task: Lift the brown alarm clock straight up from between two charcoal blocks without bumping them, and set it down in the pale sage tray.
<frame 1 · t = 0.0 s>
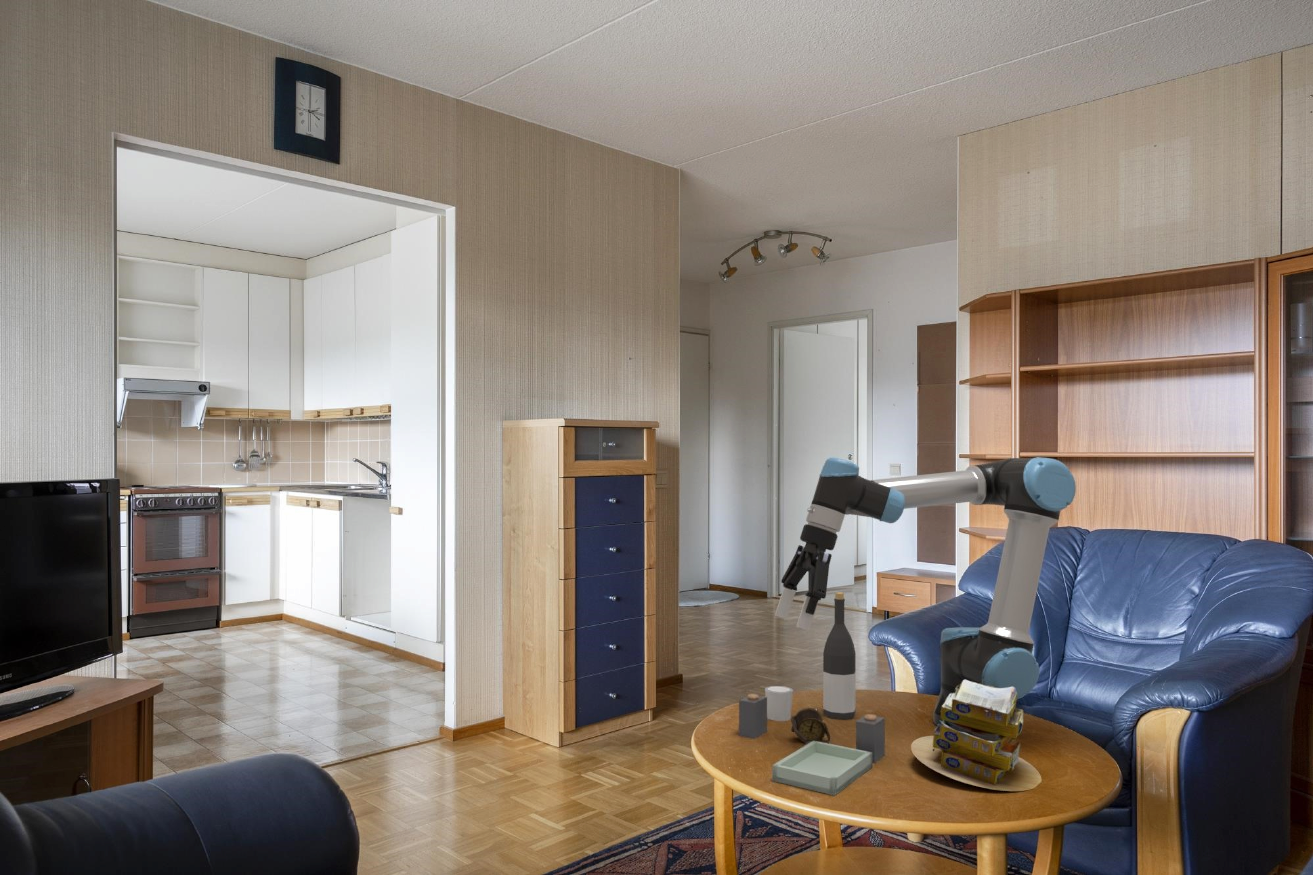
hand: (791, 623, 187), 28 cm above the table, fingers open, 13 cm apart
wine bottle: (839, 715, 217), on the table
brown alarm clock: (809, 746, 193), on the table
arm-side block: (870, 757, 185), on the table
sage tray: (823, 773, 175), on the table
far-side block: (753, 733, 201), on the table
light grey cylinder: (778, 718, 214), on the table
plate of stacked boxes: (974, 771, 178), on the table
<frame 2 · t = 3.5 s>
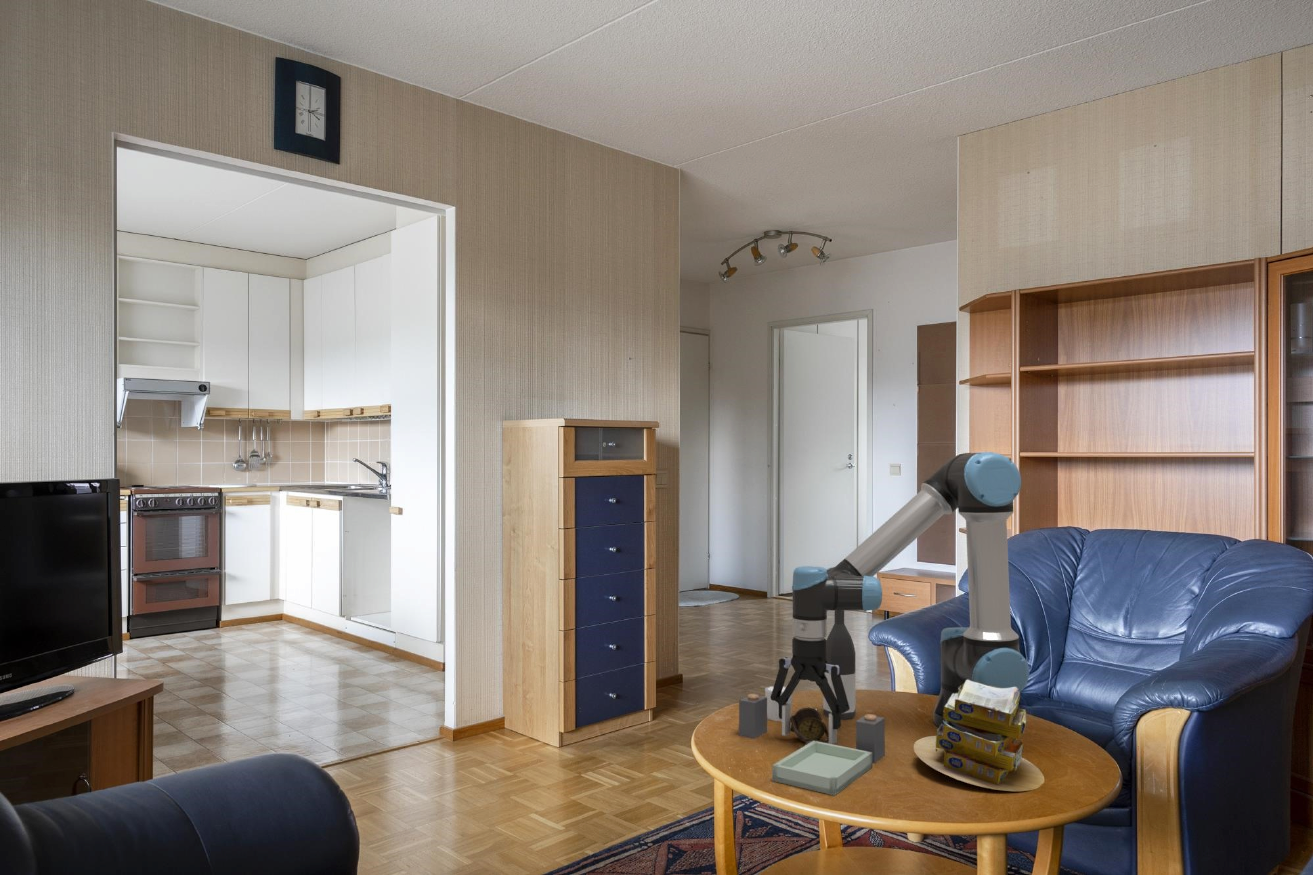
hand: (809, 738, 193), 1 cm above the table, fingers closed on brown alarm clock, 10 cm apart
brown alarm clock: (809, 745, 193), on the table, touching gripper
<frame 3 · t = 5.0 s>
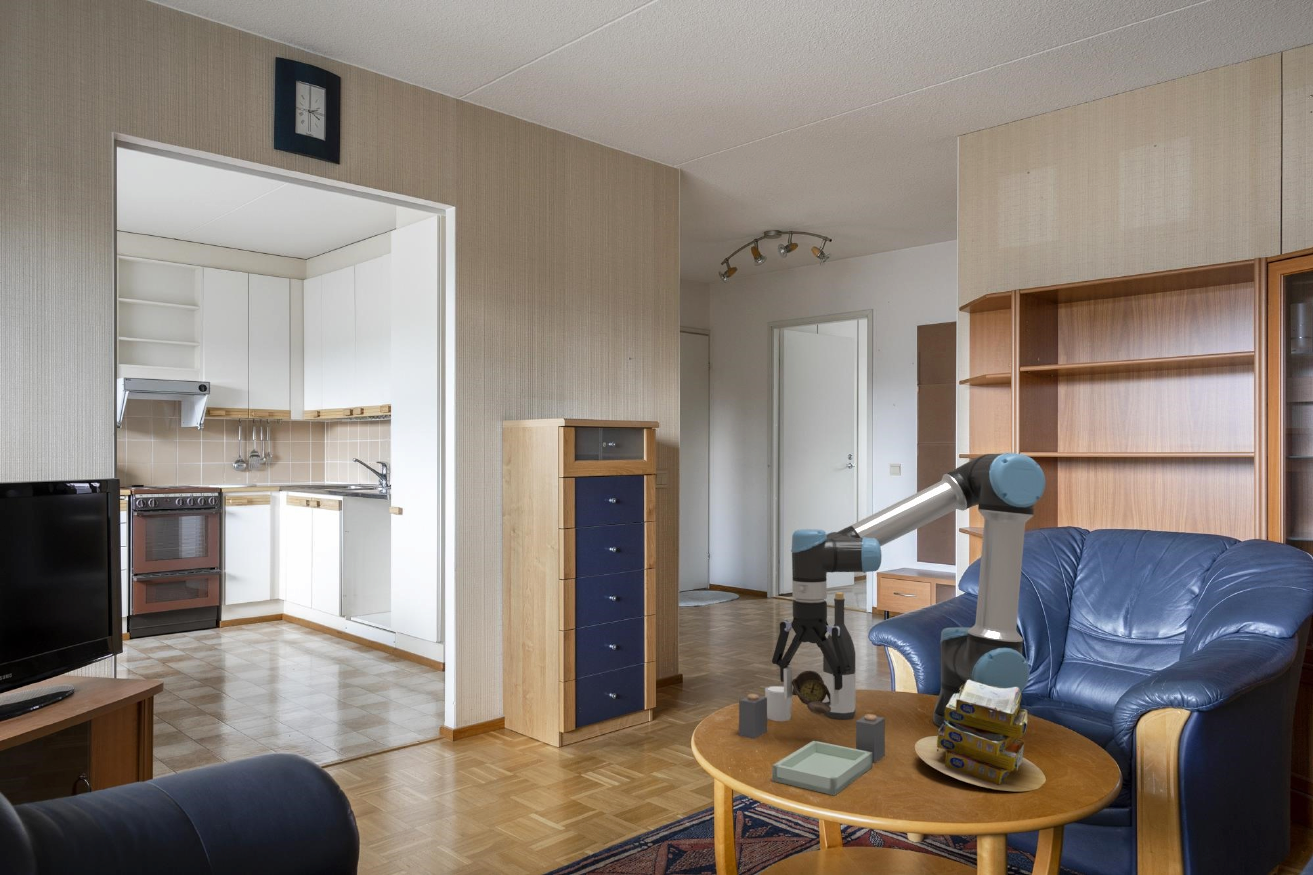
hand: (811, 700, 193), 10 cm above the table, fingers closed on brown alarm clock, 10 cm apart
brown alarm clock: (811, 708, 193), point 8 cm above the table, touching gripper
everything else where it was.
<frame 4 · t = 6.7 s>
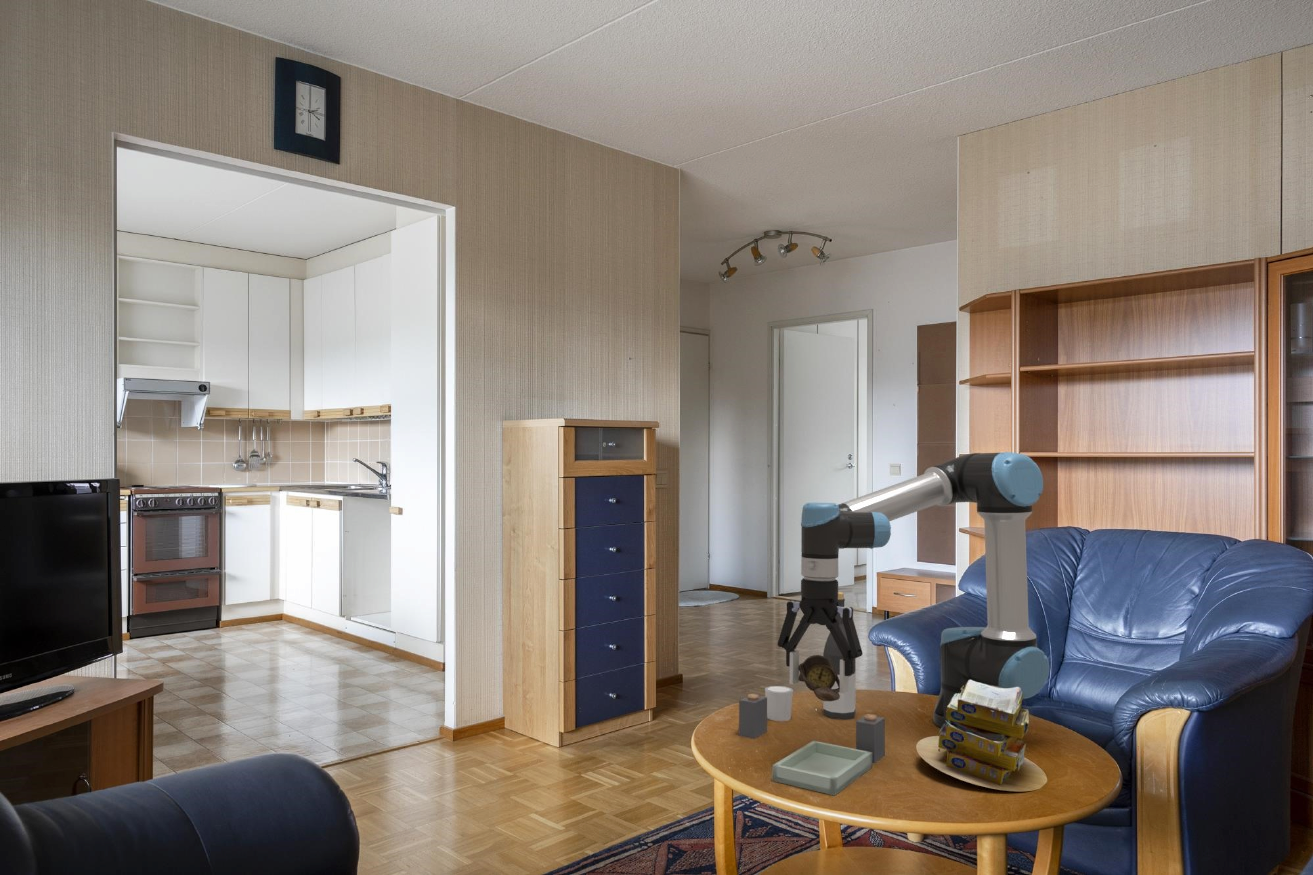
hand: (818, 687, 179), 16 cm above the table, fingers closed on brown alarm clock, 10 cm apart
brown alarm clock: (818, 695, 179), point 15 cm above the table, touching gripper
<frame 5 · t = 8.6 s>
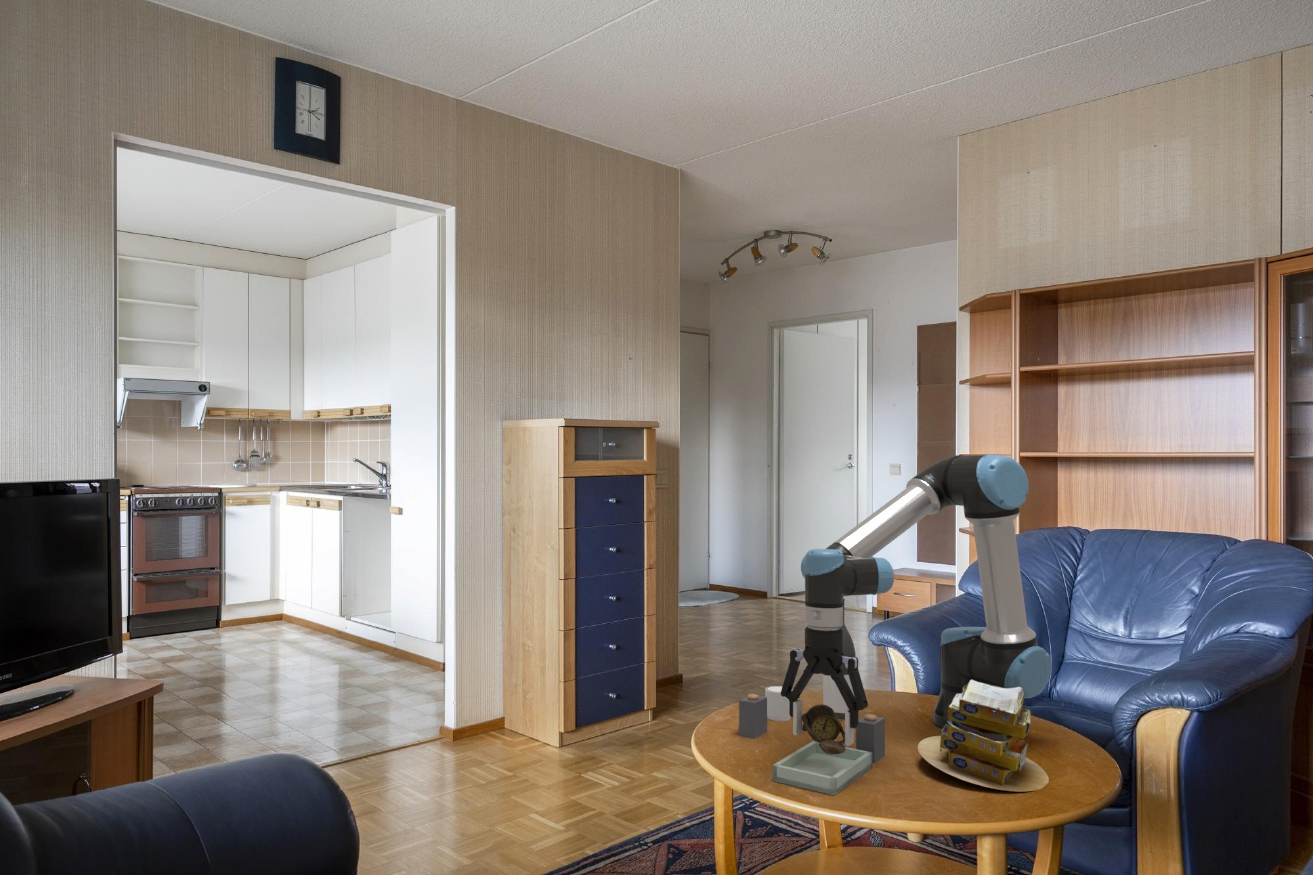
hand: (823, 738, 175), 7 cm above the table, fingers closed on brown alarm clock, 10 cm apart
brown alarm clock: (823, 746, 175), point 5 cm above the table, touching gripper
when the fingers open (4 cm above the table, at t = 10.2 s): brown alarm clock stays where it is, resting on sage tray.
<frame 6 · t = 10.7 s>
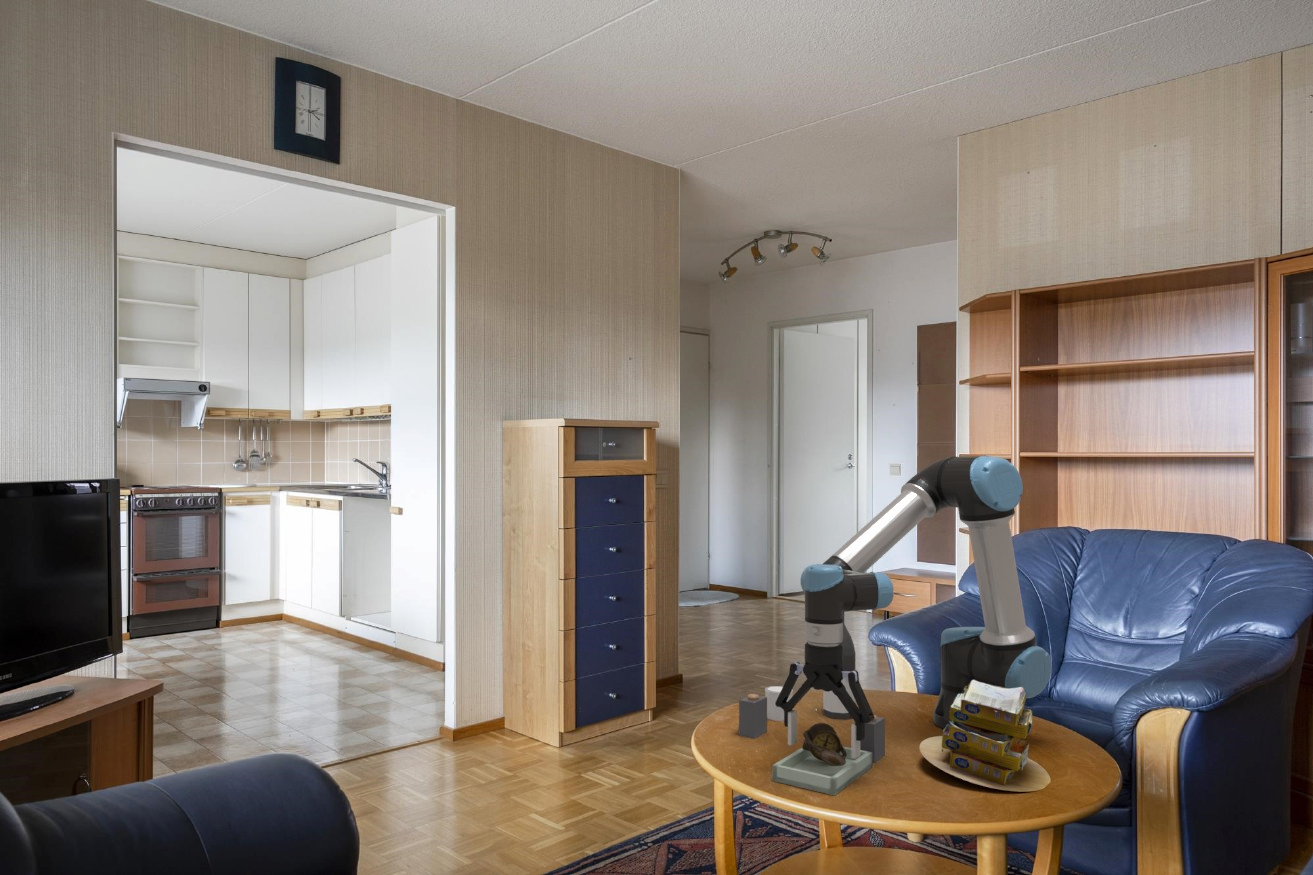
hand: (823, 750, 175), 5 cm above the table, fingers open, 13 cm apart
brown alarm clock: (822, 762, 175), point 2 cm above the table, touching sage tray
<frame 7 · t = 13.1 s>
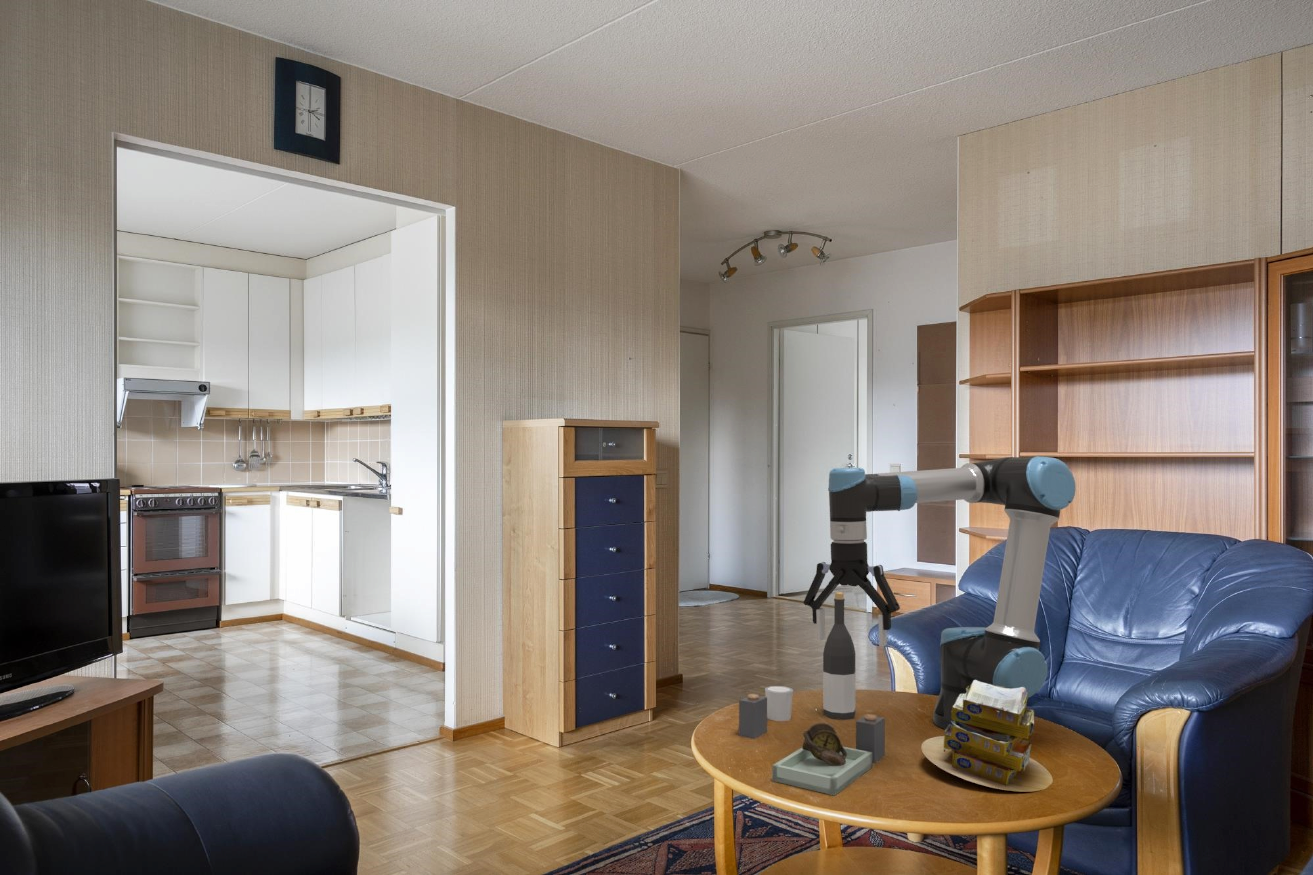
hand: (851, 642, 184), 24 cm above the table, fingers open, 13 cm apart
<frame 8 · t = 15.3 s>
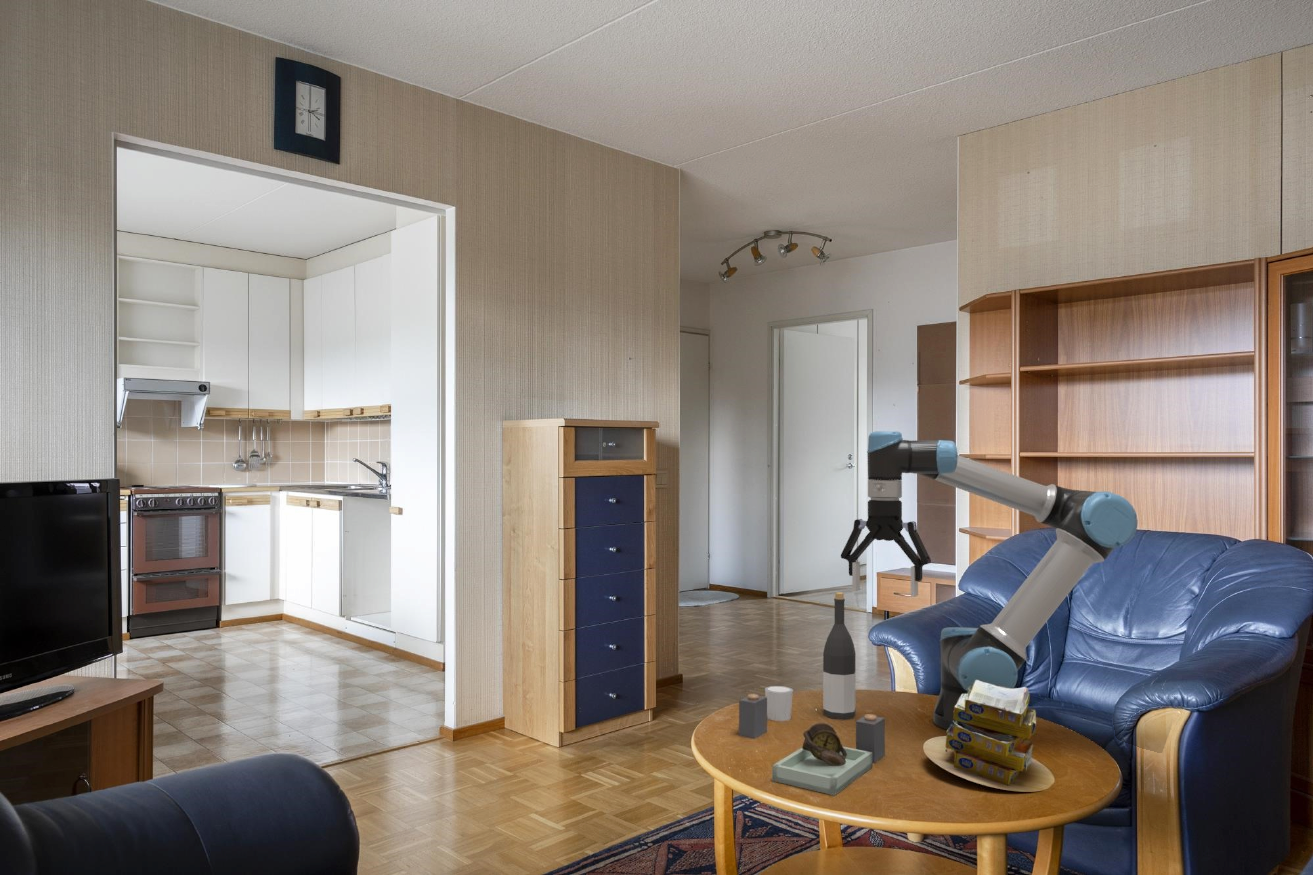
hand: (884, 593, 199), 33 cm above the table, fingers open, 13 cm apart
at the end: brown alarm clock inside the target area on the sage tray (0.1 cm from its centre), point 2.2 cm above the sage tray's base; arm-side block moved 0.1 cm from its start; far-side block moved 0.1 cm from its start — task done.
